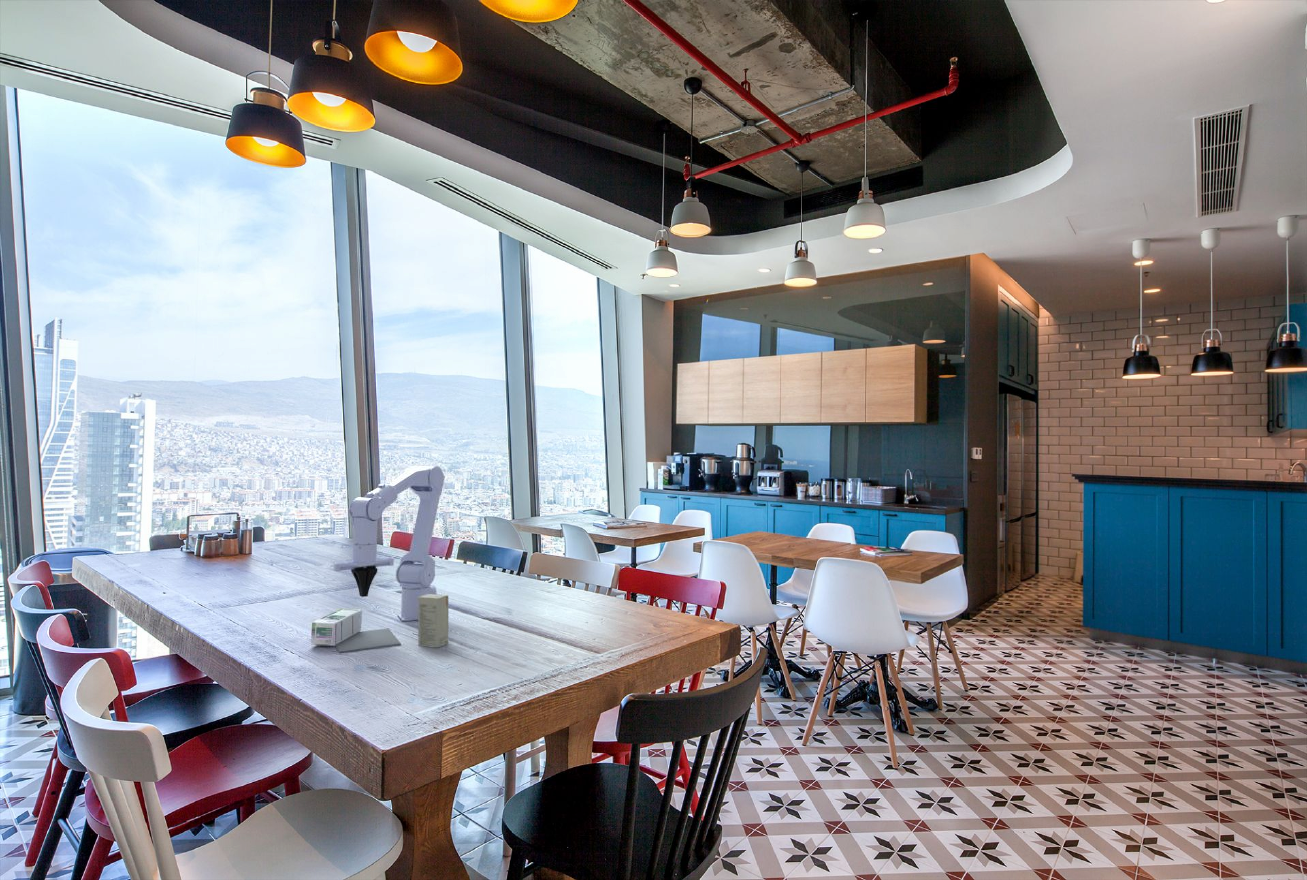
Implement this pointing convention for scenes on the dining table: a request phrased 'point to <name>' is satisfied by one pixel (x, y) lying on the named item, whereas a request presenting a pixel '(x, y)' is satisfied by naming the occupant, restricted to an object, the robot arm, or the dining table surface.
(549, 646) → the dining table surface
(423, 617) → the skincare box
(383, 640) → the grey mat
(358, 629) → the syrup box
